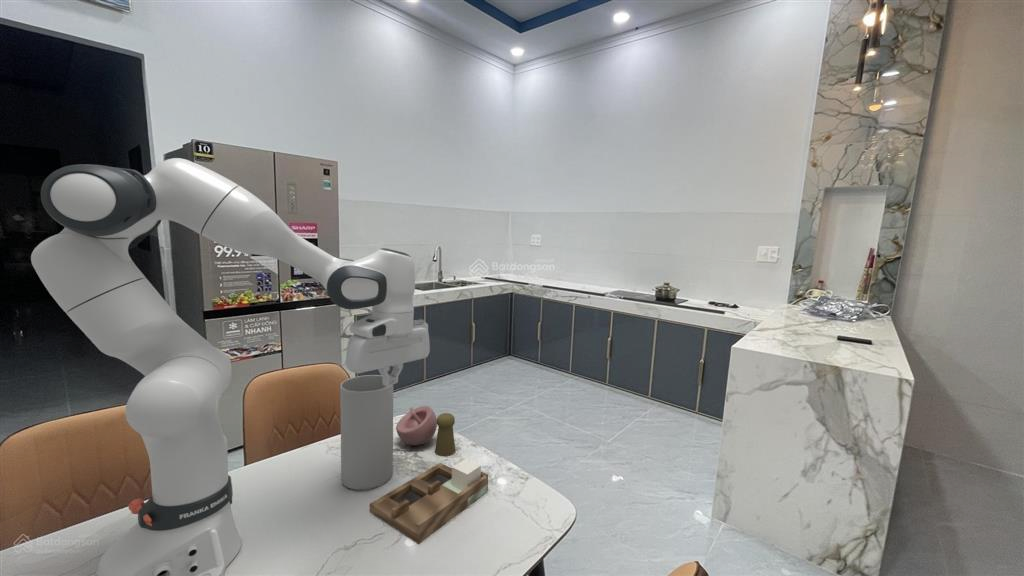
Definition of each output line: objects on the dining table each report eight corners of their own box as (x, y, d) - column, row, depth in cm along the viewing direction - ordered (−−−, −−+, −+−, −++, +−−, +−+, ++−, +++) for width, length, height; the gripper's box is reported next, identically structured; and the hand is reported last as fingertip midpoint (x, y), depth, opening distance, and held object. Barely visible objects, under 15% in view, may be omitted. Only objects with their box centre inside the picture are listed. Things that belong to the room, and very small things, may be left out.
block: (466, 492, 97) (467, 474, 97) (451, 484, 100) (452, 467, 99) (480, 482, 101) (481, 465, 101) (465, 475, 104) (465, 458, 104)
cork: (430, 451, 119) (430, 415, 118) (444, 443, 124) (445, 409, 123) (445, 458, 116) (446, 421, 114) (459, 450, 120) (460, 414, 119)
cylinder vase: (363, 498, 97) (363, 396, 94) (330, 480, 103) (329, 384, 100) (403, 473, 107) (403, 381, 105) (371, 459, 114) (371, 372, 111)
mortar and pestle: (391, 438, 126) (392, 402, 125) (429, 431, 132) (430, 396, 131) (401, 456, 116) (401, 417, 114) (442, 447, 121) (442, 410, 120)
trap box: (418, 544, 83) (418, 525, 82) (369, 512, 92) (369, 495, 91) (489, 490, 101) (489, 475, 101) (442, 468, 111) (443, 454, 110)
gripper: (419, 316, 100) (416, 371, 102) (342, 325, 84) (340, 391, 85) (437, 320, 97) (434, 377, 98) (361, 331, 80) (358, 399, 81)
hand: (390, 384), depth 91 cm, fingers closed
